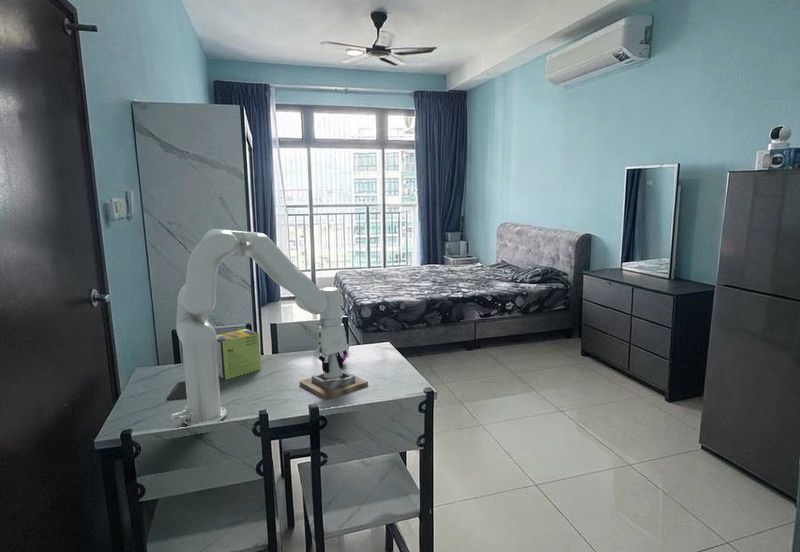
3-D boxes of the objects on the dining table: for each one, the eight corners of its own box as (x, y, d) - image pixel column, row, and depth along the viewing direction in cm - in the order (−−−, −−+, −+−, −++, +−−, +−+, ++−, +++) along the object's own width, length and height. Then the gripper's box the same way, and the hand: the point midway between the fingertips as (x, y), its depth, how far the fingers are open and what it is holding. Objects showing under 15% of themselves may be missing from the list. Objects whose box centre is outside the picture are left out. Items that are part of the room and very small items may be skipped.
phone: (200, 380, 174) (189, 396, 160) (200, 383, 174) (190, 399, 160) (177, 382, 173) (165, 398, 158) (178, 384, 173) (165, 401, 158)
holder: (326, 399, 156) (325, 390, 156) (299, 385, 170) (299, 376, 169) (368, 385, 168) (367, 376, 168) (340, 372, 182) (339, 364, 181)
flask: (339, 380, 164) (338, 353, 163) (320, 379, 166) (318, 352, 164) (345, 372, 171) (344, 347, 170) (327, 371, 173) (326, 346, 171)
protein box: (261, 369, 187) (259, 332, 184) (225, 380, 176) (222, 341, 173) (248, 363, 194) (246, 328, 191) (212, 374, 183) (209, 336, 180)
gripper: (315, 328, 157) (318, 379, 160) (356, 319, 168) (357, 366, 171) (304, 324, 162) (307, 373, 165) (344, 315, 174) (346, 361, 176)
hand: (332, 369), depth 168 cm, fingers closed on flask, 5 cm apart
